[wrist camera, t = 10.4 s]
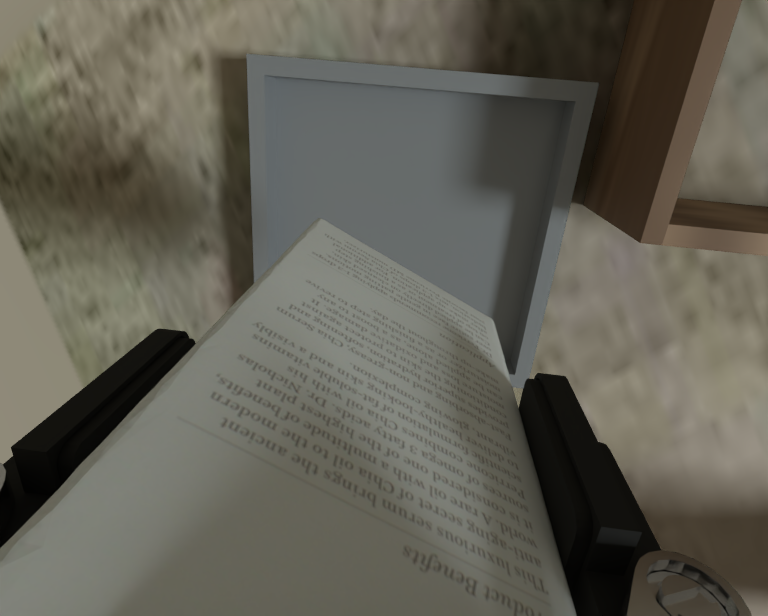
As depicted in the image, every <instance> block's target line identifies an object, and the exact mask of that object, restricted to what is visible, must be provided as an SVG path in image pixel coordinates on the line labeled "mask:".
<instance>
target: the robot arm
mask: <svg viewBox="0 0 768 616" xmlns="http://www.w3.org/2000/svg"><path fill="white" fill-rule="evenodd" d="M195 344H196V343H195V341H194V340H193V339H189V336H188V334H187V333H186V332H185V331H176V330H168V329H157V330H155V331H154V332H153V333H151V334H150V335H149V336H148V337H146V338H145V339H144V340H143V341H141V342H140V343H139V344H138V345H136V346H135V347H134V348H133V349H132V350H130V351H129V352H128V353H127V354H125V355H124V356H123V357H122V358H120V359H119V360H118V361H117V362H116V363H114V364H113V365H112V366H111V367H109V368H108V369H107V370H106V371H104V372H103V373H102V374H101V375H99V376H98V377H97V378H96V379H95V380H93V381H92V382H91V383H90V384H88V385H87V386H86V387H85V388H83V389H82V390H81V391H80V392H79V393H77V394H76V395H75V396H74V397H72V398H71V399H70V400H69V401H67V402H66V403H65V404H64V405H62V406H61V407H60V408H59V409H58V410H56V411H55V412H54V413H53V414H51V415H50V416H49V417H48V418H47V419H46V420H44V421H43V422H42V423H40V424H39V425H38V426H37V427H36V428H34V429H33V430H32V431H30V432H29V433H28V434H27V435H25V436H24V437H23V438H22V439H21V440H19V441H18V442H17V443H16V444H14V445H13V446H12V447H11V449H12V453H13V457H11V458H10V459H9V460H8V461H7V462H6V463H4V464H3V465H2V464H1V463H0V548H1V547H2V546H3V545H4V544H5V543H6V542H7V541H8V540H9V539H10V538H11V537H12V536H13V535H14V534H15V533H16V532H17V531H18V530H19V529H20V528H21V527H22V526H23V525H24V524H25V523H26V522H27V521H28V520H29V519H30V518H31V517H32V516H33V515H34V514H35V513H36V512H37V511H38V510H39V509H40V508H41V507H42V506H43V505H44V504H45V503H46V502H47V500H48V499H49V498H50V497H51V496H52V495H53V494H54V493H55V492H56V491H57V490H58V489H59V488H60V487H61V486H62V485H63V484H64V483H65V481H66V480H67V479H68V478H69V477H70V476H71V474H72V473H73V472H74V471H75V470H76V469H77V467H78V466H79V465H80V464H81V463H82V462H83V461H84V460H85V459H86V458H87V457H88V456H89V455H90V454H91V453H92V452H93V451H94V450H95V449H96V448H97V447H98V446H99V445H100V444H101V443H102V442H103V441H104V440H105V439H106V438H107V437H108V435H109V434H110V433H111V432H112V431H113V430H114V429H115V428H116V427H117V426H118V425H119V424H120V423H121V422H122V420H123V419H124V418H125V417H126V416H127V415H128V414H129V413H130V412H131V411H132V410H133V408H134V407H135V406H136V405H137V404H138V403H139V402H140V401H141V400H142V399H143V398H144V397H145V396H146V395H147V394H148V393H149V392H150V391H151V390H152V389H153V388H154V387H155V386H156V385H157V384H158V383H159V381H160V380H161V379H162V378H163V377H164V376H165V375H166V374H167V373H168V372H169V371H170V370H171V369H172V368H173V367H174V366H175V365H176V364H177V363H178V362H179V361H180V360H181V359H182V358H183V357H184V356H185V355H186V354H187V353H188V352H189V351H190V349H191V348H192V347H193V346H194V345H195ZM519 412H520V416H521V419H522V423H523V426H524V430H525V434H526V437H527V441H528V445H529V448H530V452H531V455H532V459H533V462H534V466H535V469H536V473H537V476H538V479H539V483H540V487H541V491H542V494H543V498H544V501H545V505H546V508H547V512H548V515H549V519H550V523H551V526H552V530H553V534H554V537H555V541H556V545H557V548H558V552H559V555H560V558H561V562H562V565H563V569H564V572H565V576H566V579H567V583H568V587H569V590H570V594H571V597H572V601H573V604H574V608H575V611H576V615H577V616H752V615H751V612H750V610H749V609H748V607H747V605H746V604H745V602H744V601H743V599H742V597H741V596H740V595H739V594H738V593H737V592H736V590H735V589H734V588H733V587H732V586H731V585H730V584H729V583H728V582H727V581H726V580H725V579H723V578H722V577H721V576H720V575H718V574H717V573H716V572H715V571H713V570H712V569H711V568H709V567H707V566H705V565H704V564H702V563H700V562H698V561H697V560H695V559H693V558H690V557H687V556H685V555H682V554H679V553H676V552H669V551H663V550H661V549H660V547H659V545H658V543H657V541H656V539H655V537H654V535H653V533H652V531H651V529H650V527H649V525H648V523H647V521H646V519H645V517H644V515H643V513H642V511H641V510H640V508H639V506H638V504H637V502H636V500H635V498H634V496H633V494H632V492H631V490H630V488H629V486H628V484H627V482H626V480H625V478H624V476H623V474H622V472H621V470H620V468H619V467H618V465H617V463H616V461H615V459H614V457H613V455H612V453H611V451H610V449H609V448H608V447H607V445H606V444H604V443H600V442H598V441H597V439H596V437H595V435H594V433H593V431H592V429H591V427H590V425H589V423H588V420H587V418H586V416H585V414H584V412H583V410H582V408H581V406H580V404H579V402H578V400H577V398H576V396H575V394H574V392H573V390H572V388H571V386H570V384H569V382H568V380H567V378H566V377H565V376H559V375H551V374H542V373H537V374H536V376H535V378H534V379H526V381H525V384H524V388H523V392H522V397H521V401H520V405H519Z"/></svg>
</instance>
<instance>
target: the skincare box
mask: <svg viewBox="0 0 768 616" xmlns="http://www.w3.org/2000/svg"><path fill="white" fill-rule="evenodd" d="M0 616H577V615H576V611H575V608H574V604H573V601H572V597H571V594H570V590H569V587H568V583H567V579H566V576H565V572H564V569H563V565H562V562H561V558H560V555H559V552H558V548H557V545H556V541H555V537H554V534H553V530H552V526H551V523H550V519H549V515H548V512H547V508H546V505H545V501H544V498H543V494H542V491H541V487H540V483H539V479H538V476H537V473H536V469H535V466H534V462H533V459H532V455H531V452H530V448H529V445H528V441H527V437H526V434H525V430H524V426H523V423H522V419H521V416H520V412H519V409H518V405H517V402H516V398H515V395H514V391H513V388H512V384H511V381H510V377H509V373H508V369H507V366H506V363H505V359H504V355H503V351H502V348H501V344H500V341H499V337H498V334H497V330H496V327H495V324H494V321H493V320H492V319H491V318H490V317H488V316H486V315H484V314H483V313H481V312H479V311H477V310H476V309H474V308H472V307H471V306H469V305H467V304H466V303H464V302H462V301H461V300H459V299H457V298H456V297H454V296H452V295H450V294H449V293H447V292H445V291H444V290H442V289H440V288H439V287H437V286H435V285H434V284H432V283H430V282H428V281H427V280H425V279H423V278H422V277H420V276H418V275H417V274H415V273H413V272H412V271H410V270H408V269H406V268H405V267H403V266H401V265H399V264H398V263H396V262H394V261H393V260H391V259H389V258H388V257H386V256H384V255H383V254H381V253H379V252H377V251H376V250H374V249H372V248H370V247H369V246H367V245H365V244H364V243H362V242H360V241H359V240H357V239H355V238H353V237H352V236H350V235H348V234H347V233H345V232H344V231H342V230H340V229H339V228H337V227H335V226H333V225H332V224H330V223H329V222H327V221H325V220H323V219H321V218H318V219H317V220H315V221H314V222H313V223H312V224H311V225H310V226H309V227H308V228H307V229H306V230H305V231H304V232H303V233H302V234H301V235H300V236H299V238H298V239H297V240H296V241H295V242H294V243H293V244H292V245H291V246H290V247H289V248H288V249H287V250H286V251H285V252H284V253H283V254H282V255H281V256H280V257H279V259H278V260H277V261H276V262H275V263H274V264H273V265H272V266H271V267H270V268H269V269H268V270H267V271H266V272H265V273H264V274H263V275H262V276H261V277H260V278H259V279H258V280H257V281H256V282H255V283H254V284H253V285H252V286H251V287H250V288H249V289H248V290H247V291H246V292H245V293H244V294H243V295H242V296H241V297H240V298H239V299H238V300H237V301H236V302H235V303H234V304H233V305H232V307H231V308H229V310H228V311H227V312H226V313H225V314H224V315H223V316H222V317H221V318H220V319H219V320H218V321H217V322H216V323H215V324H214V326H213V327H212V328H211V329H210V330H209V331H208V332H207V333H206V334H205V335H204V336H203V337H202V338H201V339H200V340H199V341H198V342H197V343H196V344H195V345H194V346H193V347H192V348H191V349H190V351H189V352H188V353H187V354H186V355H185V356H184V357H183V358H182V359H181V360H180V361H179V362H178V363H177V364H176V365H175V366H174V367H173V368H172V369H171V370H170V371H169V372H168V373H167V374H166V375H165V376H164V377H163V378H162V379H161V380H160V381H159V383H158V384H157V385H156V386H155V387H154V388H153V389H152V390H151V391H150V392H149V393H148V394H147V395H146V396H145V397H144V398H143V399H142V400H141V401H140V402H139V403H138V404H137V405H136V406H135V407H134V408H133V410H132V411H131V412H130V413H129V414H128V415H127V416H126V417H125V418H124V419H123V420H122V422H121V423H120V424H119V425H118V426H117V427H116V428H115V429H114V430H113V431H112V432H111V433H110V434H109V435H108V437H107V438H106V439H105V440H104V441H103V442H102V443H101V444H100V445H99V446H98V447H97V448H96V449H95V450H94V451H93V452H92V453H91V454H90V455H89V456H88V457H87V458H86V459H85V460H84V461H83V462H82V463H81V464H80V465H79V466H78V467H77V469H76V470H75V471H74V472H73V473H72V474H71V476H70V477H69V478H68V479H67V480H66V481H65V483H64V484H63V485H62V486H61V487H60V488H59V489H58V490H57V491H56V492H55V493H54V494H53V495H52V496H51V497H50V498H49V499H48V500H47V502H46V503H45V504H44V505H43V506H42V507H41V508H40V509H39V510H38V511H37V512H36V513H35V514H34V515H33V516H32V517H31V518H30V519H29V520H28V521H27V522H26V523H25V524H24V525H23V526H22V527H21V528H20V529H19V530H18V531H17V532H16V533H15V534H14V535H13V536H12V537H11V538H10V539H9V540H8V541H7V542H6V543H5V544H4V545H3V546H2V547H1V548H0Z"/></svg>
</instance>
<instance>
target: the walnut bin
mask: <svg viewBox="0 0 768 616" xmlns="http://www.w3.org/2000/svg"><path fill="white" fill-rule="evenodd" d="M741 2H742V0H634V4H633V8H632V12H631V16H630V20H629V24H628V28H627V32H626V36H625V40H624V44H623V48H622V52H621V56H620V60H619V64H618V68H617V72H616V76H615V80H614V84H613V88H612V92H611V96H610V100H609V104H608V108H607V112H606V116H605V120H604V124H603V128H602V132H601V136H600V140H599V144H598V148H597V152H596V156H595V160H594V164H593V168H592V172H591V176H590V180H589V184H588V188H587V192H586V196H585V200H584V204H583V205H584V206H585V207H587V208H588V209H590V210H591V211H593V212H594V213H596V214H597V215H599V216H600V217H602V218H603V219H605V220H606V221H608V222H609V223H611V224H612V225H614V226H616V227H617V228H619V229H620V230H622V231H623V232H625V233H626V234H628V235H629V236H631V237H632V238H634V239H635V240H637V241H638V242H640V243H646V244H656V245H665V246H675V247H685V248H695V249H705V250H714V251H724V252H734V253H744V254H754V255H763V256H768V207H762V206H752V205H742V204H731V203H721V202H710V201H700V200H689V199H679V198H678V195H679V191H680V188H681V185H682V182H683V179H684V176H685V173H686V170H687V167H688V164H689V161H690V158H691V155H692V152H693V149H694V146H695V143H696V139H697V136H698V133H699V130H700V127H701V124H702V121H703V118H704V115H705V112H706V109H707V106H708V103H709V100H710V97H711V94H712V91H713V87H714V84H715V81H716V78H717V75H718V72H719V69H720V66H721V63H722V60H723V57H724V54H725V51H726V48H727V45H728V42H729V38H730V35H731V32H732V29H733V26H734V23H735V20H736V17H737V14H738V11H739V8H740V5H741Z"/></svg>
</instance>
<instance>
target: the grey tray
mask: <svg viewBox="0 0 768 616" xmlns="http://www.w3.org/2000/svg"><path fill="white" fill-rule="evenodd" d="M246 55H247V85H248V115H249V145H250V176H251V206H252V236H253V266H254V283H255V282H256V281H257V280H258V279H259V278H260V277H261V276H262V275H263V274H264V273H265V272H266V271H267V270H268V269H269V268H270V267H271V266H272V265H273V264H274V263H275V262H276V261H277V260H278V259H279V257H280V256H281V255H282V254H283V253H284V252H285V251H286V250H287V249H288V248H289V247H290V246H291V245H292V244H293V243H294V242H295V241H296V240H297V239H298V238H299V236H300V235H301V234H302V233H303V232H304V231H305V230H306V229H307V228H308V227H309V226H310V225H311V224H312V223H313V222H314V221H315V220H317V219H318V218H321V219H323V220H325V221H327V222H329V223H330V224H332V225H333V226H335V227H337V228H339V229H340V230H342V231H344V232H345V233H347V234H348V235H350V236H352V237H353V238H355V239H357V240H359V241H360V242H362V243H364V244H365V245H367V246H369V247H370V248H372V249H374V250H376V251H377V252H379V253H381V254H383V255H384V256H386V257H388V258H389V259H391V260H393V261H394V262H396V263H398V264H399V265H401V266H403V267H405V268H406V269H408V270H410V271H412V272H413V273H415V274H417V275H418V276H420V277H422V278H423V279H425V280H427V281H428V282H430V283H432V284H434V285H435V286H437V287H439V288H440V289H442V290H444V291H445V292H447V293H449V294H450V295H452V296H454V297H456V298H457V299H459V300H461V301H462V302H464V303H466V304H467V305H469V306H471V307H472V308H474V309H476V310H477V311H479V312H481V313H483V314H484V315H486V316H488V317H490V318H491V319H492V320H493V321H494V324H495V327H496V330H497V334H498V337H499V341H500V344H501V348H502V351H503V355H504V359H505V363H506V366H507V369H508V373H509V377H510V381H511V384H512V387H516V388H524V384H525V381H526V379H529V377H530V372H531V368H532V364H533V360H534V356H535V351H536V347H537V343H538V339H539V335H540V330H541V326H542V322H543V318H544V314H545V309H546V305H547V301H548V297H549V293H550V288H551V284H552V280H553V276H554V271H555V267H556V263H557V259H558V255H559V250H560V246H561V242H562V238H563V234H564V229H565V225H566V221H567V217H568V213H569V208H570V204H571V200H572V196H573V192H574V187H575V183H576V179H577V175H578V171H579V166H580V162H581V158H582V154H583V150H584V145H585V141H586V137H587V133H588V128H589V124H590V120H591V116H592V112H593V107H594V103H595V99H596V95H597V91H598V86H599V83H595V82H583V81H571V80H559V79H547V78H534V77H522V76H510V75H498V74H486V73H474V72H462V71H449V70H437V69H425V68H413V67H401V66H389V65H376V64H364V63H352V62H340V61H328V60H316V59H304V58H291V57H279V56H267V55H255V54H246Z"/></svg>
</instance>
